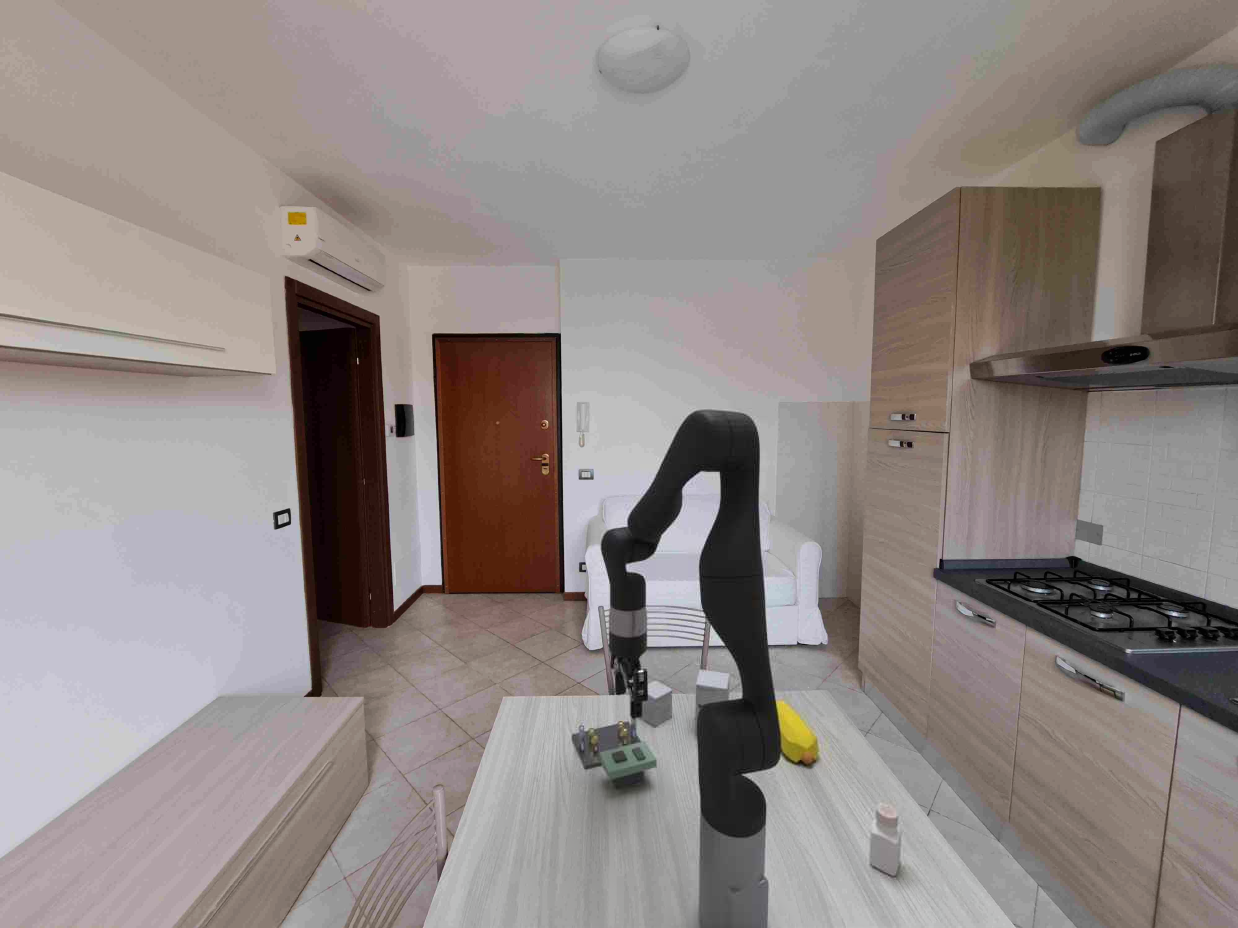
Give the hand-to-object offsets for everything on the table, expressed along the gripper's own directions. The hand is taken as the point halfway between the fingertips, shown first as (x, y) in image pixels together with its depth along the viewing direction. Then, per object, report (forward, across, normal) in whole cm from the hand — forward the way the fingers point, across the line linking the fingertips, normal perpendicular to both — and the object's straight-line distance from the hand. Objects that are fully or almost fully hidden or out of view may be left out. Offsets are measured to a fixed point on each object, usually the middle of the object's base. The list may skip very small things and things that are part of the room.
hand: (627, 704), depth 98 cm
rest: (+16, 0, 0) cm, 16 cm away
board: (+12, 0, 0) cm, 12 cm away
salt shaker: (+16, -32, -33) cm, 49 cm away
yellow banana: (+17, -1, -39) cm, 42 cm away
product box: (+17, +18, -14) cm, 28 cm away
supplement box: (+17, +9, -25) cm, 31 cm away
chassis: (+16, +12, 0) cm, 20 cm away
